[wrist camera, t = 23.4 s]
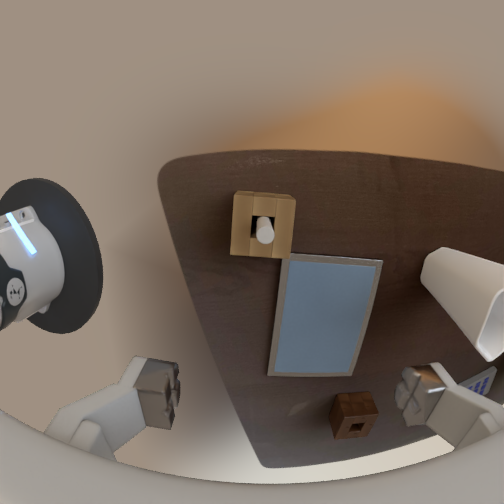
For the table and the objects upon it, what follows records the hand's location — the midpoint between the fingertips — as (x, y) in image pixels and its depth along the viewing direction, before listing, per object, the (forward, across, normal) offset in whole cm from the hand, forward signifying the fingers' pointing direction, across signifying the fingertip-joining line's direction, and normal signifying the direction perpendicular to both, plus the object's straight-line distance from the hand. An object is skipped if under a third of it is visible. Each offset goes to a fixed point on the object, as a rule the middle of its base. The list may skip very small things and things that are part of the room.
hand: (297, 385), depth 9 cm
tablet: (+28, -9, +13) cm, 33 cm away
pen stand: (+28, -18, +31) cm, 46 cm away
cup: (+28, -27, +4) cm, 39 cm away
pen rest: (+28, +1, -1) cm, 28 cm away
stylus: (+28, 0, -1) cm, 28 cm away
